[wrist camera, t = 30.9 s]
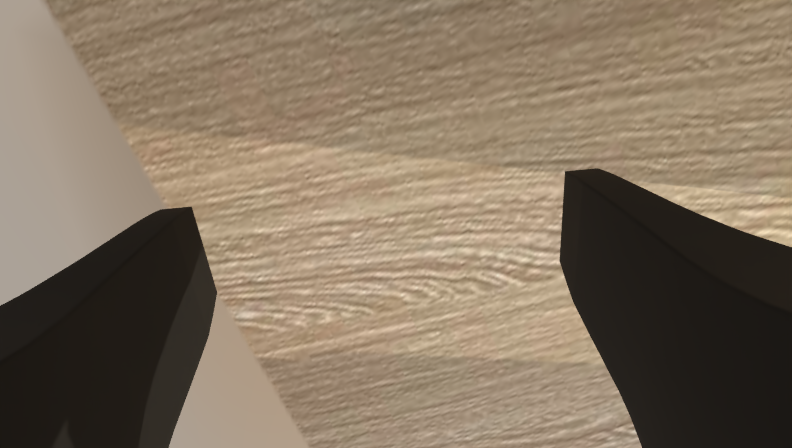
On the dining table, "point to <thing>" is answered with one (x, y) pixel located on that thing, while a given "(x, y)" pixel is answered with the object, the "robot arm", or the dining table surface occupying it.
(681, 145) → the dining table surface
